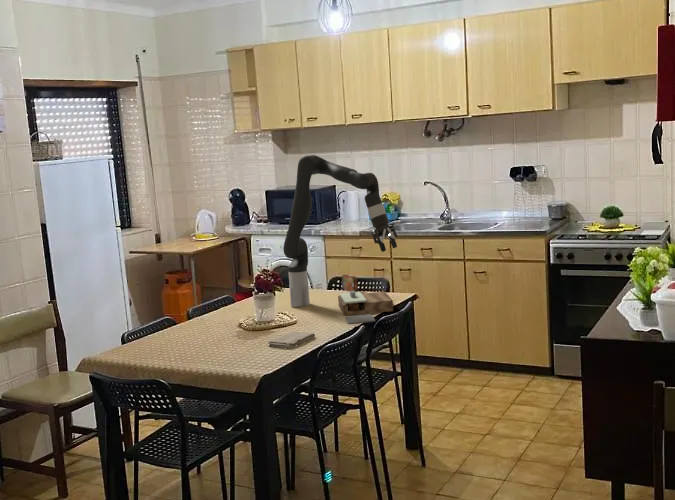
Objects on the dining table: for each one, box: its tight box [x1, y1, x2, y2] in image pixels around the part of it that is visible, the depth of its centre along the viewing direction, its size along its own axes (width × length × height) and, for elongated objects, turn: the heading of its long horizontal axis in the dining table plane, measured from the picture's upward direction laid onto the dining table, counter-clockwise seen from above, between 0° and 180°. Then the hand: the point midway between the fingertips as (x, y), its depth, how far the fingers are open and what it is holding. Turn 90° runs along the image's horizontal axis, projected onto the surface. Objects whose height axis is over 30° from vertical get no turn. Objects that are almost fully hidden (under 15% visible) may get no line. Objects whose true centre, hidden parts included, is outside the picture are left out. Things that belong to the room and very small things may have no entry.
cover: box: [339, 291, 366, 304], centre depth 362 cm, size 10×19×3 cm, turn 6°
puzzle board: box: [337, 291, 394, 317], centre depth 363 cm, size 23×21×5 cm
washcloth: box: [267, 331, 316, 350], centre depth 313 cm, size 12×18×3 cm, turn 149°
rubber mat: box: [344, 313, 376, 325], centre depth 342 cm, size 12×12×1 cm
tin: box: [341, 274, 358, 293], centre depth 406 cm, size 15×3×8 cm, turn 25°
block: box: [348, 302, 360, 311], centre depth 362 cm, size 4×4×4 cm
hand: (389, 249), depth 345 cm, fingers open, 8 cm apart
